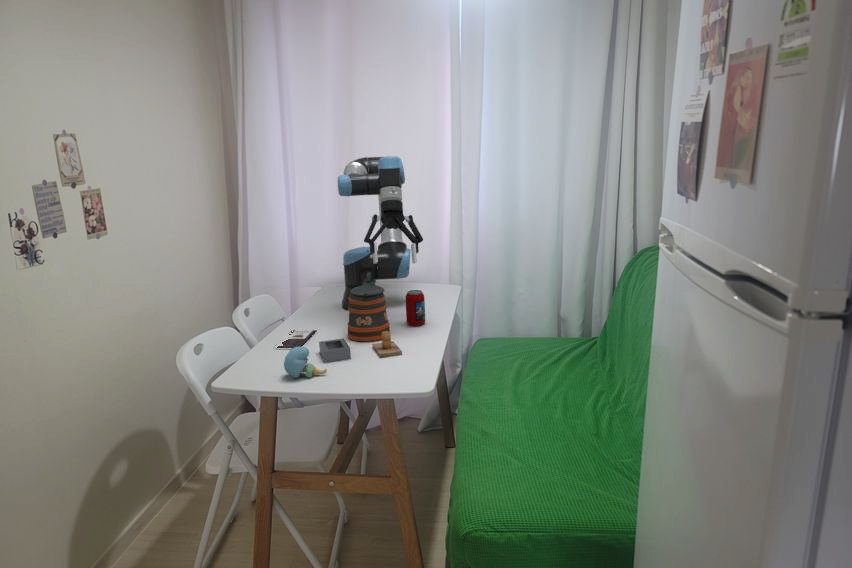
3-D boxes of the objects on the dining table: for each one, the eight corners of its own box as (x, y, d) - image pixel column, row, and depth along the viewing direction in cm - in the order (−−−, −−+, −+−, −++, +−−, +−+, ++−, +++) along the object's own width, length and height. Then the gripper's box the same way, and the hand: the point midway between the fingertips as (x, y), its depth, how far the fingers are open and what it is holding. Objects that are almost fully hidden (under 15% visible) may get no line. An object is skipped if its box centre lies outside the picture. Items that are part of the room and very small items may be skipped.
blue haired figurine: (324, 352, 171) (281, 351, 170) (324, 382, 173) (282, 380, 173) (328, 344, 178) (287, 342, 177) (328, 372, 180) (287, 371, 180)
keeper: (372, 347, 197) (371, 329, 195) (393, 344, 199) (392, 326, 198) (380, 357, 188) (379, 338, 186) (402, 354, 190) (401, 335, 188)
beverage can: (423, 327, 216) (422, 294, 213) (404, 326, 217) (403, 294, 214) (427, 321, 222) (425, 289, 219) (409, 320, 224) (407, 289, 221)
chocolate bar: (273, 347, 199) (292, 330, 216) (273, 350, 199) (292, 332, 217) (299, 347, 198) (316, 330, 215) (300, 350, 198) (316, 332, 215)
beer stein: (349, 326, 220) (345, 272, 216) (390, 323, 221) (387, 269, 216) (346, 343, 202) (342, 285, 197) (390, 341, 203) (387, 282, 198)
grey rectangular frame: (319, 352, 195) (319, 341, 194) (344, 348, 197) (343, 338, 196) (325, 362, 186) (324, 351, 185) (350, 358, 188) (350, 348, 187)
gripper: (357, 197, 201) (361, 260, 198) (429, 199, 209) (433, 260, 206) (353, 203, 208) (356, 265, 205) (422, 205, 216) (426, 264, 213)
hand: (395, 263), depth 205 cm, fingers open, 13 cm apart
